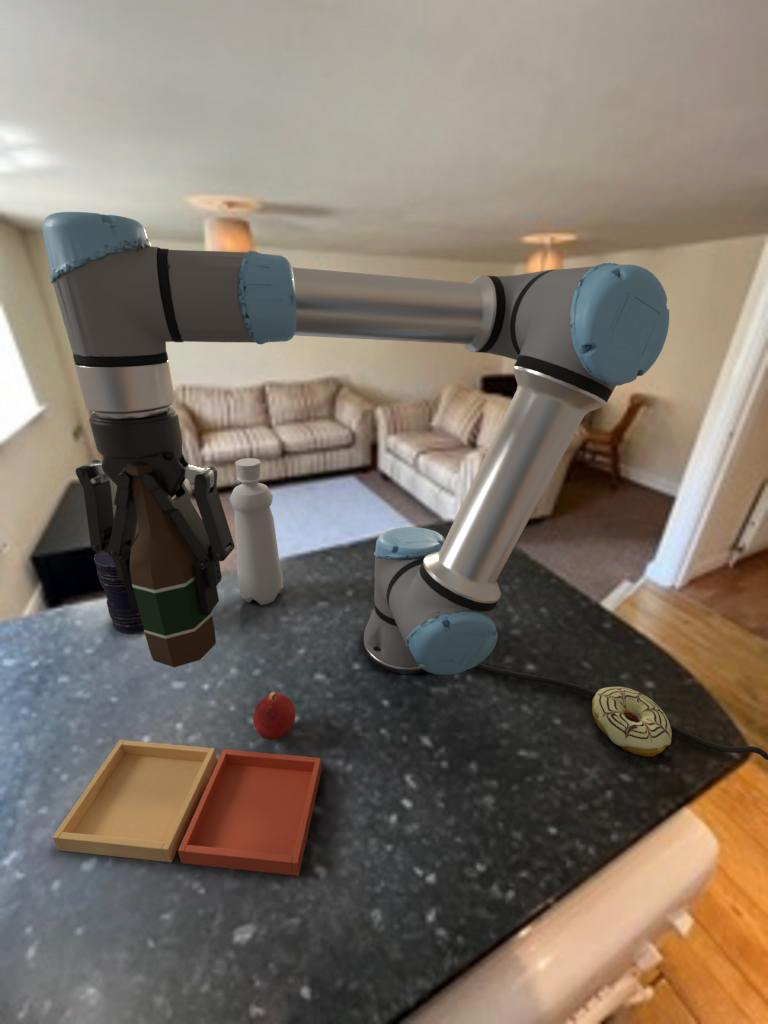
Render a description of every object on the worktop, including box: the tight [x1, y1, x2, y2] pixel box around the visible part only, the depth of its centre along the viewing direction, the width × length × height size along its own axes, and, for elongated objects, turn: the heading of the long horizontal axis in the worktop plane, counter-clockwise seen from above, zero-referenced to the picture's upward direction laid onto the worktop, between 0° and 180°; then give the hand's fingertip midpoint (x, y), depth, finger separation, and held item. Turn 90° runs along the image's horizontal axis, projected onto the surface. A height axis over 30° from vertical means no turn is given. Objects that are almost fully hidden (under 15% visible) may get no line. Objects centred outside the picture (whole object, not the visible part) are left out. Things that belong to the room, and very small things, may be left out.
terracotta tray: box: [177, 748, 323, 877], centre depth 55 cm, size 13×12×2 cm
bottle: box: [229, 457, 284, 606], centre depth 89 cm, size 9×9×30 cm
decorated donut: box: [591, 686, 673, 758], centre depth 67 cm, size 10×11×4 cm
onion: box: [252, 691, 296, 741], centre depth 64 cm, size 6×6×8 cm
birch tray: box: [51, 739, 218, 863], centre depth 56 cm, size 13×12×2 cm
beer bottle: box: [126, 462, 217, 668], centre depth 50 cm, size 8×8×24 cm
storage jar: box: [93, 538, 145, 635], centre depth 84 cm, size 10×10×18 cm
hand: (176, 604), depth 52 cm, fingers closed on beer bottle, 8 cm apart
